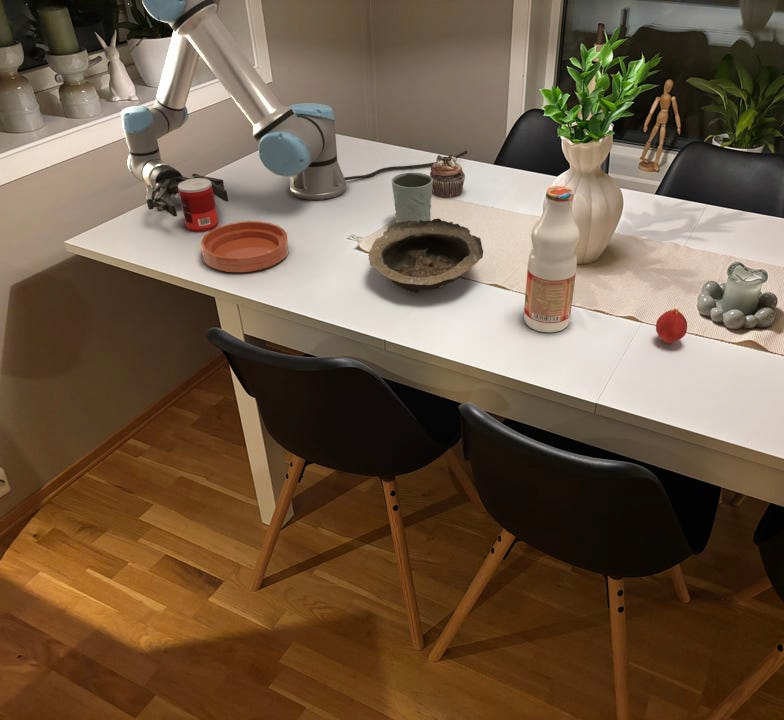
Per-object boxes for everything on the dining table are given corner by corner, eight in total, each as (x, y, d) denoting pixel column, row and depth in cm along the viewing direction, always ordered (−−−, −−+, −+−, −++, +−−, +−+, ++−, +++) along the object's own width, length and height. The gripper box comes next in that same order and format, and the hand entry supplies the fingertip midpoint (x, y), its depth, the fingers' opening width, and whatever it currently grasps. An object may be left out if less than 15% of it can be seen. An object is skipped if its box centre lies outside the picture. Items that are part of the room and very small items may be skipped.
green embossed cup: (401, 236, 180) (400, 189, 173) (387, 220, 187) (385, 175, 180) (439, 229, 183) (439, 183, 176) (423, 213, 191) (423, 169, 184)
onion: (648, 334, 145) (656, 300, 140) (677, 333, 146) (685, 299, 141) (658, 351, 140) (665, 316, 136) (687, 350, 141) (695, 315, 136)
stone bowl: (468, 247, 175) (470, 212, 169) (490, 307, 156) (493, 271, 150) (364, 252, 171) (363, 217, 165) (374, 315, 152) (373, 278, 146)
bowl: (287, 233, 180) (285, 218, 178) (290, 270, 165) (288, 254, 163) (206, 239, 177) (203, 224, 175) (201, 278, 161) (198, 262, 159)
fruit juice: (542, 338, 144) (556, 205, 127) (514, 316, 150) (523, 187, 134) (579, 325, 148) (597, 194, 131) (550, 304, 154) (563, 177, 138)
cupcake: (434, 200, 198) (434, 164, 192) (427, 186, 205) (426, 152, 200) (468, 197, 200) (469, 161, 194) (460, 184, 207) (460, 149, 202)
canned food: (224, 221, 185) (217, 180, 179) (206, 234, 179) (198, 192, 173) (199, 217, 187) (190, 175, 181) (180, 229, 181) (170, 187, 175)
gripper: (210, 180, 200) (248, 204, 187) (120, 204, 187) (155, 232, 174) (205, 153, 196) (244, 176, 183) (112, 176, 182) (148, 202, 169)
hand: (201, 203), depth 178 cm, fingers open, 13 cm apart
